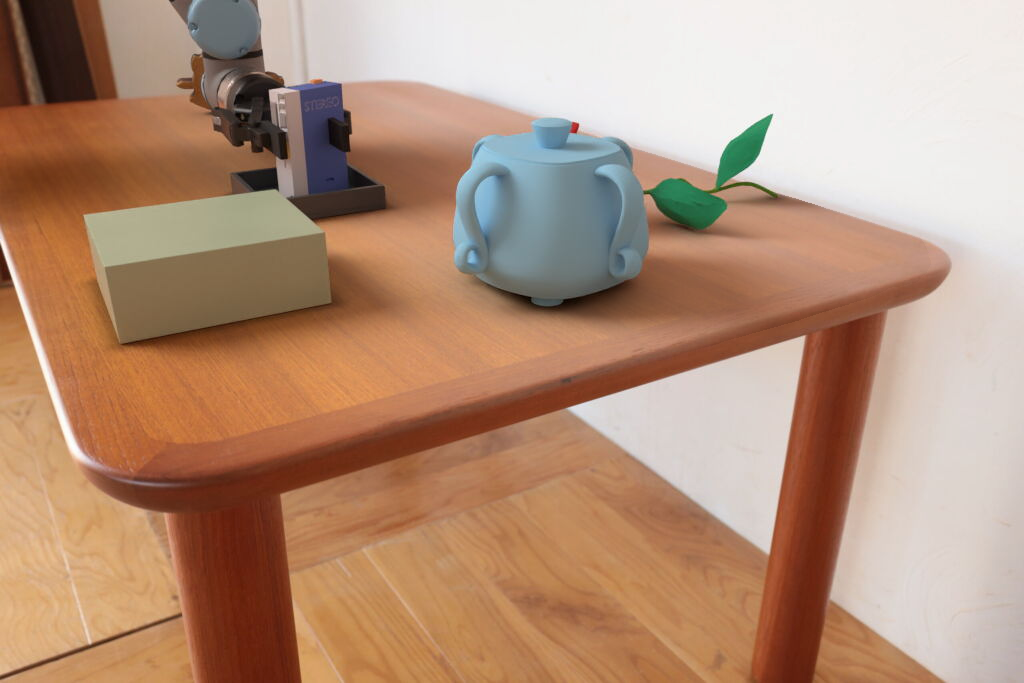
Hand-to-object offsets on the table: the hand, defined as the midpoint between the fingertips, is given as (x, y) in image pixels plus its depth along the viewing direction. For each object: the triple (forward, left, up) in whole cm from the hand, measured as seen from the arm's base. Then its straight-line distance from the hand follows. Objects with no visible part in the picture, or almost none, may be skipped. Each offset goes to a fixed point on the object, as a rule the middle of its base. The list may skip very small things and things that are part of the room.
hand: (315, 142), depth 91 cm
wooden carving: (-60, +5, -8) cm, 61 cm away
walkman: (-5, +1, -7) cm, 9 cm away
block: (+17, -15, -7) cm, 24 cm away
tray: (-5, 0, -7) cm, 9 cm away
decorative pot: (+28, +11, -8) cm, 31 cm away
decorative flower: (+19, +31, -8) cm, 37 cm away
